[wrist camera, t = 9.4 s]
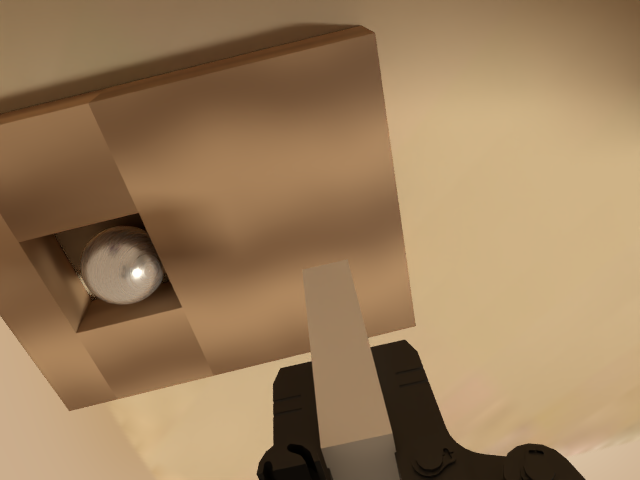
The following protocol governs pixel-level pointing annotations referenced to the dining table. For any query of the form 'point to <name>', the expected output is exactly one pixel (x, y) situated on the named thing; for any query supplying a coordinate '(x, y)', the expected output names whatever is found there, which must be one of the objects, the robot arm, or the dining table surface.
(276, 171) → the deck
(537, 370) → the dining table surface
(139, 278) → the ball
